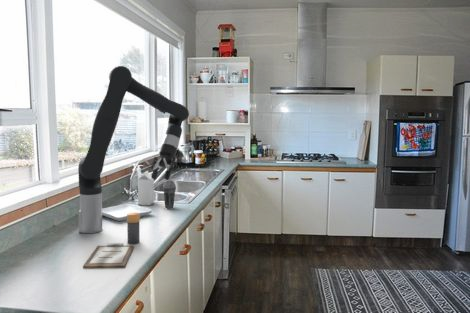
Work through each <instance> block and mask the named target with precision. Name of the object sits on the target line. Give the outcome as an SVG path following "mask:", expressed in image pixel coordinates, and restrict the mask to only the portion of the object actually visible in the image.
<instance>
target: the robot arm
mask: <svg viewBox="0 0 470 313" xmlns="http://www.w3.org/2000/svg"><path fill="white" fill-rule="evenodd" d="M108 79H109V83H108V86H107V91H106V94H105V95H104V98H103V99H102V102H101V104H100V106H99V108H98V111H97V113H96V115H95V119H94V121H93V124H92V130H91V135H90V136H91V137H90V144H89V147H88V150H87V153H86V155H85V157H83V158H82V159H81V160H79V164H78V170H77V171H78V188H79V211H78V233H83V234H95V233H100V232H101V231H103V215H102V209H103V189H102V188H103V187H102V182H101V175H102V172H103V168H104V165H105V164H104V163H105V159H106V155H107V152H108V148H109V146H110V143H111V141H112V138H113V136H114V133H115V130H116V128H117V124H118V121H119V118H120V114H121V109H122V106H123V102H124V98H125V95H126V93H130V94H131V95H133V96H135V97H137V98H138V99H139V100H142V101H143V102H145V103H146V104H147V105H149V106H151V107H152V108H154V109H155V110H157V111H158V112H160V113H162V114H163V113H164V114H169V115H168V123H167V127H166V128H167V129H166V132H165V135H164V137H163V139H162V143H161V145H160V149H159V152H158V153H159V157H157V156H154V157H153V160H152V163H151V165H150V169H151V170H152V174H151V175H152V176H151V178H152V179H154V180H156V179H157V177H158V172H159V171H160V170H161V169H162V168H166V171H165V174H164V177H163V178H164V179H165V180H166V181H170V175H171V176H172V173H173V172H176V170H177V167H178V166H177V165H178V162H179V159H178V158H177V157H176V155H177V151H178V148H179V145H180V139H181V136H182V133H183V128H182V123H183V122H184V121H186V120H187V119H188V118H189V117H190V112H189V109H188V108H187V107H186V106H184V105H183V104H181V103H179V102H176V101H174V100H172V99H171V100H170V99H169V98H167V97H166V96H165V95H163V94H161V93H160V92H158V91H156V90H154V89H152V88H149V87H147V86H146V85H144V84H142V83H141V82H139V81H137V80H136V79H135V78H134V77H133V76H132V72H131V71H130V69H129V68H128V67H126V66H124V65H118V66H115V67H113V68H112V69H111V71H110V73H109V75H108Z"/></svg>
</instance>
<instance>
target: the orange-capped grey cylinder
mask: <svg viewBox="0 0 470 313" xmlns="http://www.w3.org/2000/svg"><path fill="white" fill-rule="evenodd" d="M140 219H141V217H140V213H135V212H133V213H128V214H127V220H126V222H127V226H126V227H127V245H128V244H129V245H136V244H139V243H140V241H141V240H140V221H141V220H140Z"/></svg>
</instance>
